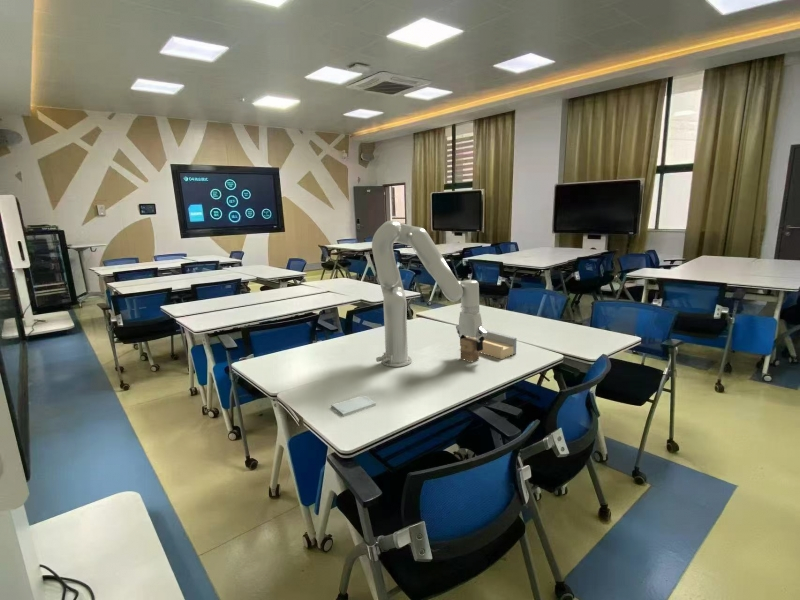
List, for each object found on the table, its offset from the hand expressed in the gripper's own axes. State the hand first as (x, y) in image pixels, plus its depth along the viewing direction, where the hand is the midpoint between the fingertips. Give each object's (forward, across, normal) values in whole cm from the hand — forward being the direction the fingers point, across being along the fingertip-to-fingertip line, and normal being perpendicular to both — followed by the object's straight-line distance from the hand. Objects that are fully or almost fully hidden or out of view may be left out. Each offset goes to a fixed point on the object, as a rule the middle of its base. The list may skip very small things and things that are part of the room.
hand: (471, 347), depth 175 cm
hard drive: (+4, +6, -63) cm, 63 cm away
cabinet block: (+5, 0, -1) cm, 5 cm away
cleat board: (+5, -3, +14) cm, 15 cm away
